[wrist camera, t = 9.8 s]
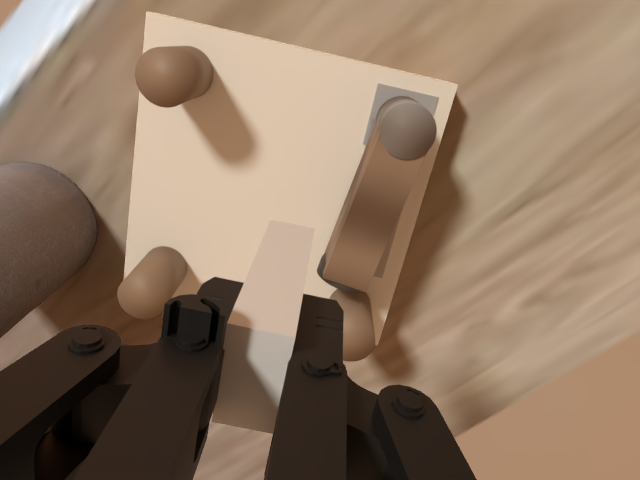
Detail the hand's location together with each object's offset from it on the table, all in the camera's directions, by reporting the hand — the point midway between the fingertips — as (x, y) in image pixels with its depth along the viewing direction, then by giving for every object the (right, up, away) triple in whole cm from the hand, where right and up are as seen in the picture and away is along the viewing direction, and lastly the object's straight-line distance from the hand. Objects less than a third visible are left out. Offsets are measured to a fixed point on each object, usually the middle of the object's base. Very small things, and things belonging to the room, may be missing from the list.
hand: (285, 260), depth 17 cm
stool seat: (-2, +5, +21) cm, 21 cm away
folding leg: (+5, +4, +18) cm, 19 cm away
